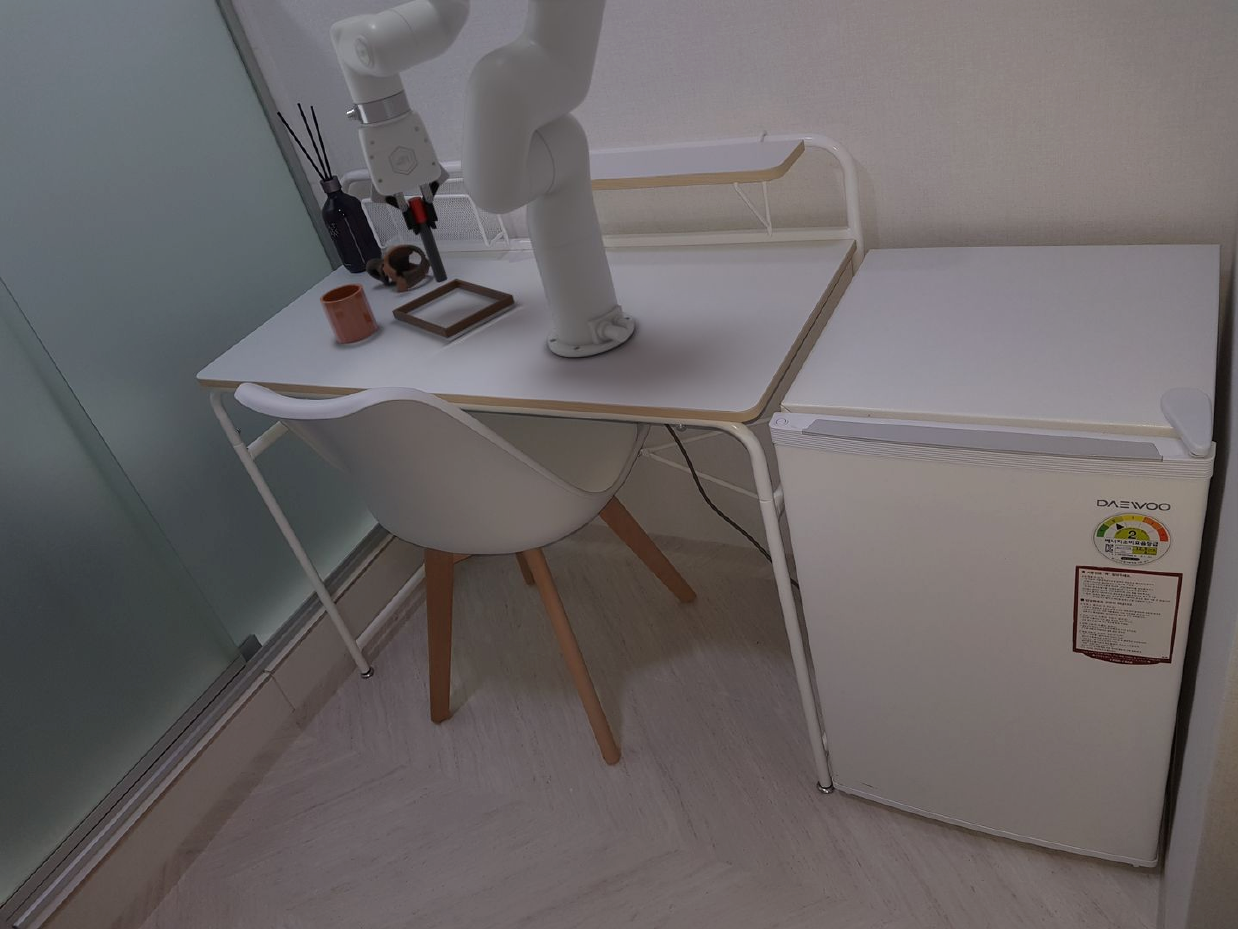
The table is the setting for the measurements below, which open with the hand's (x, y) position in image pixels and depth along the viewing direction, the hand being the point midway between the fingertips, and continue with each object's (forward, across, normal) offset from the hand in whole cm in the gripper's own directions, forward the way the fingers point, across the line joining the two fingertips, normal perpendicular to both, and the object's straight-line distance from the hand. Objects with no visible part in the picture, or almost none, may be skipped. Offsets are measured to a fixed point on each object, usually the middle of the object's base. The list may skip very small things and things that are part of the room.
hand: (424, 228), depth 143 cm
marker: (+9, 0, 0) cm, 9 cm away
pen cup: (+15, -16, +5) cm, 22 cm away
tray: (+15, 0, 0) cm, 15 cm away
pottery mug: (+15, -4, +22) cm, 27 cm away
